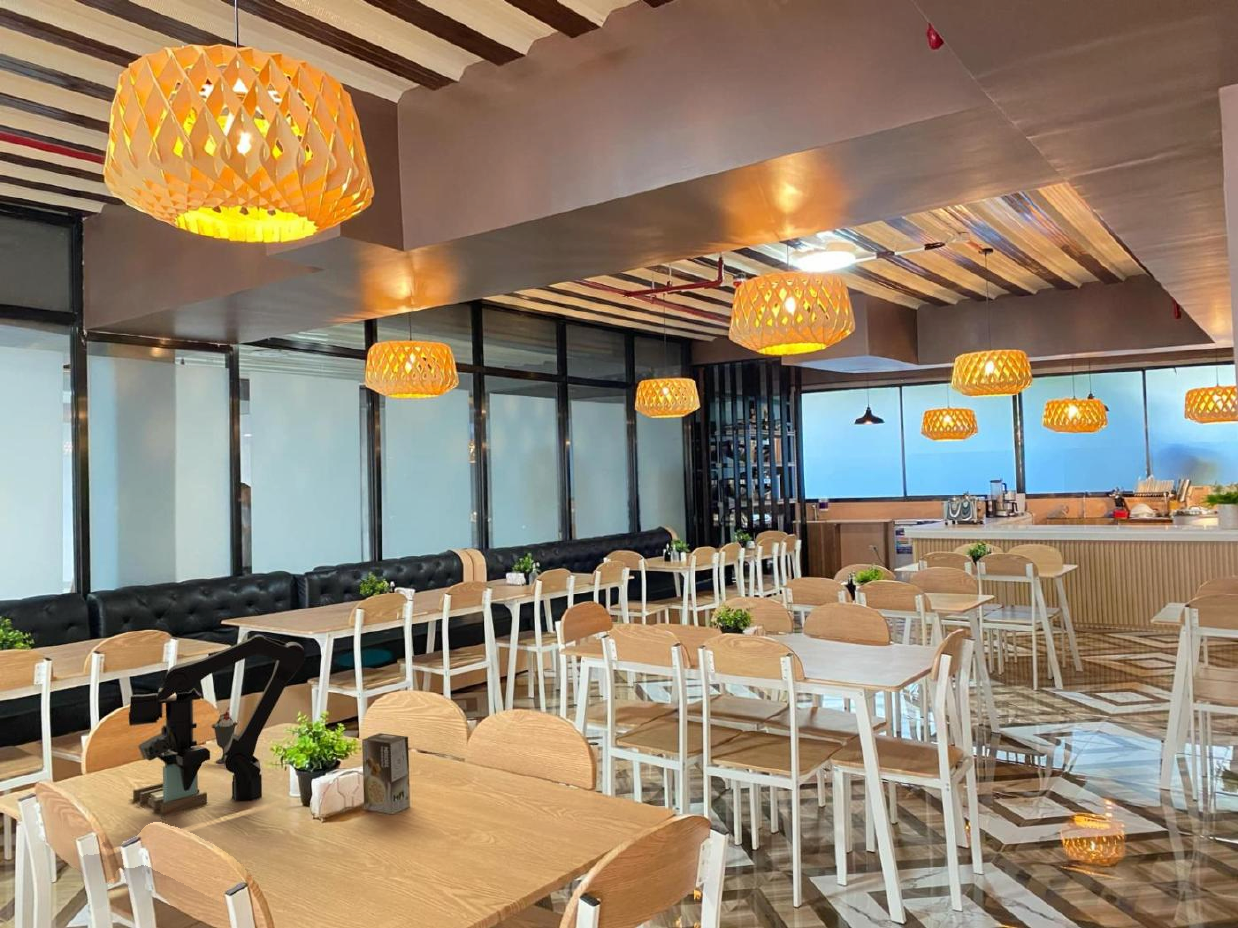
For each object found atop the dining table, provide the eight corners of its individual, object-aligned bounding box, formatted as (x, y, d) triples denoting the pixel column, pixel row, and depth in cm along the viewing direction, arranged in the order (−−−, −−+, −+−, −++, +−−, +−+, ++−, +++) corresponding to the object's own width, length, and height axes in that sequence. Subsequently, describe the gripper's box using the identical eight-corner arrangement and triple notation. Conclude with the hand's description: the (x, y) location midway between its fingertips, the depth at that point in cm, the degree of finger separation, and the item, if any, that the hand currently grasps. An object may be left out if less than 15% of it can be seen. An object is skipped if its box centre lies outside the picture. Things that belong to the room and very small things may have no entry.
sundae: (231, 764, 245) (231, 708, 245) (207, 764, 245) (207, 709, 245) (242, 756, 251) (241, 703, 252) (219, 757, 251) (218, 703, 252)
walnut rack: (212, 808, 209) (211, 793, 209) (163, 822, 201) (162, 806, 201) (176, 791, 222) (175, 777, 222) (128, 803, 214) (128, 789, 214)
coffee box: (411, 805, 206) (410, 736, 207) (392, 815, 201) (391, 743, 201) (381, 800, 211) (380, 732, 211) (362, 809, 205) (360, 739, 206)
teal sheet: (197, 803, 209) (197, 760, 210) (166, 812, 204) (166, 768, 205) (194, 801, 211) (193, 759, 211) (163, 810, 205) (162, 766, 206)
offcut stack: (192, 799, 213) (192, 788, 213) (156, 808, 207) (156, 798, 207) (183, 794, 216) (183, 784, 216) (147, 804, 210) (147, 793, 210)
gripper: (127, 721, 208) (127, 789, 208) (159, 733, 196) (160, 805, 195) (176, 711, 217) (177, 776, 216) (210, 722, 204) (211, 791, 204)
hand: (180, 787), depth 208 cm, fingers open, 6 cm apart
